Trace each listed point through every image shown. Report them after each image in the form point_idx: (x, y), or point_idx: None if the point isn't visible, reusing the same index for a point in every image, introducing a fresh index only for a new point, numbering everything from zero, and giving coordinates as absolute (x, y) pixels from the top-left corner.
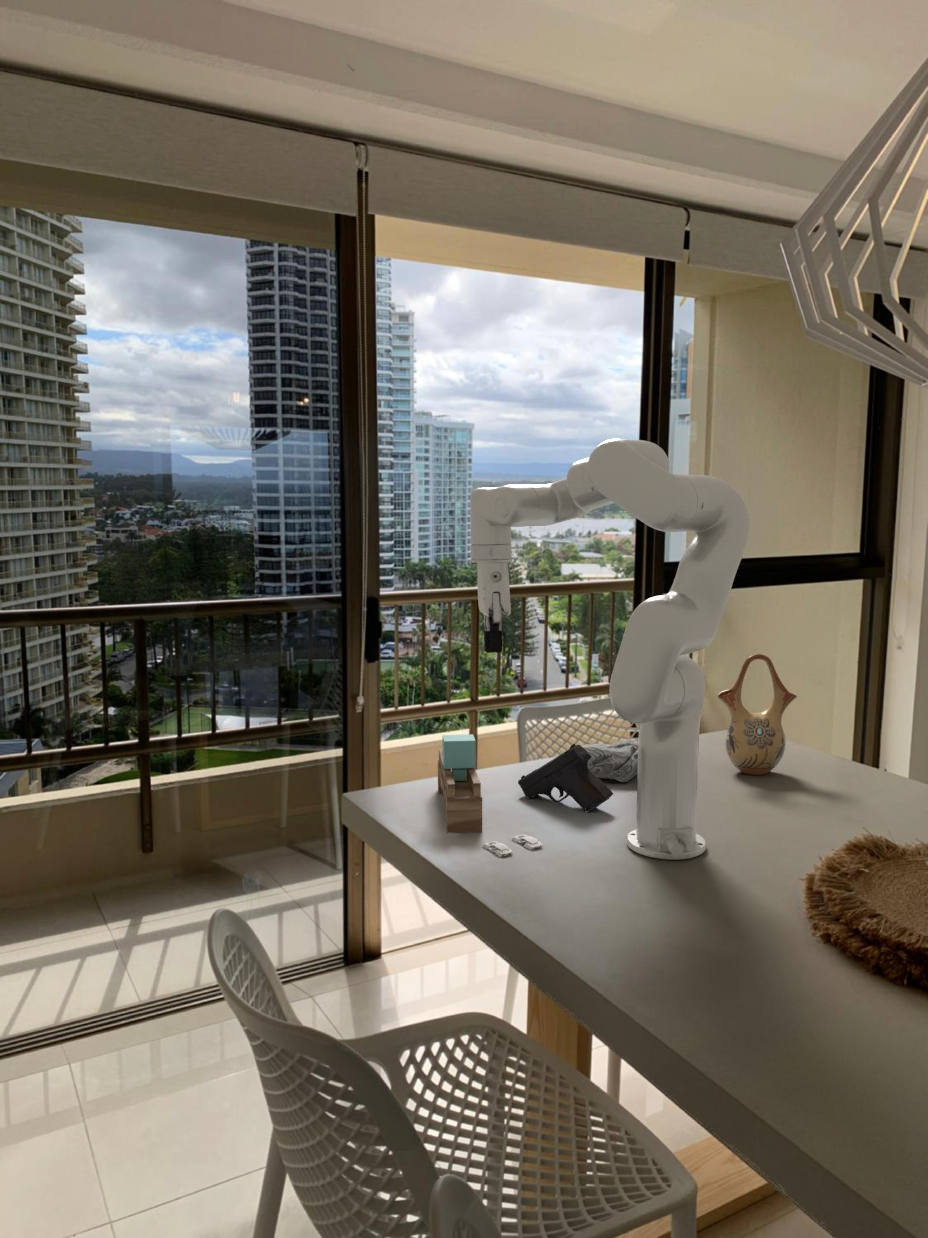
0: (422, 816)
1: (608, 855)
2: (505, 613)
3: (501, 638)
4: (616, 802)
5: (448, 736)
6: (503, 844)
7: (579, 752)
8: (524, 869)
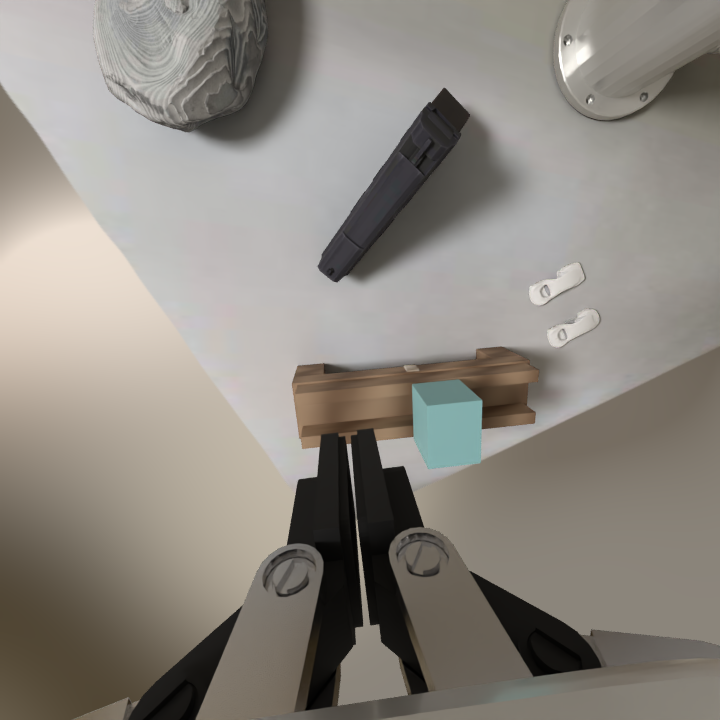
0: None
1: (624, 163)
2: (346, 707)
3: (383, 480)
4: (382, 83)
5: (439, 456)
6: (582, 321)
7: (445, 134)
8: (640, 296)
